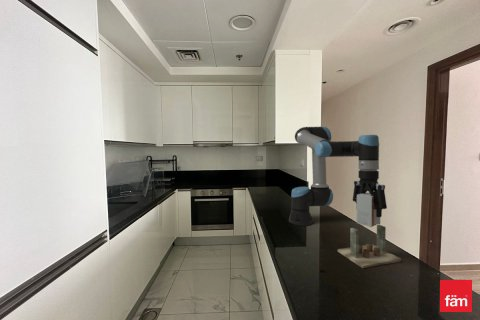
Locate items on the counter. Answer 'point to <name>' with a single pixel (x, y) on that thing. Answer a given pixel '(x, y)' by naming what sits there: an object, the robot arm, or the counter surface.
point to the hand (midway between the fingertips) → (368, 220)
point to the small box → (365, 209)
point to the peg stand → (368, 250)
